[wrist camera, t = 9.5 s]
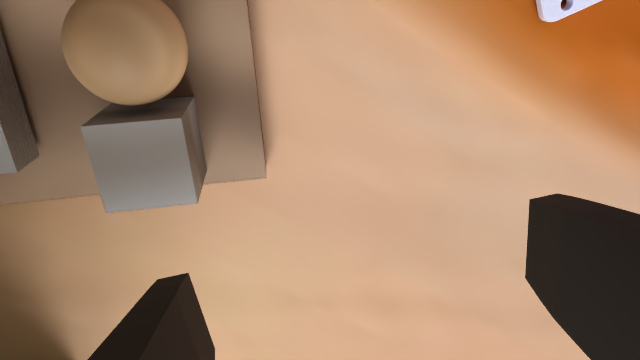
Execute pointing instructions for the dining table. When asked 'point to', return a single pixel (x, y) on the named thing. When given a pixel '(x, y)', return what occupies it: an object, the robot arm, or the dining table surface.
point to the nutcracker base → (80, 105)
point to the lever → (13, 121)
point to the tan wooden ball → (125, 49)
